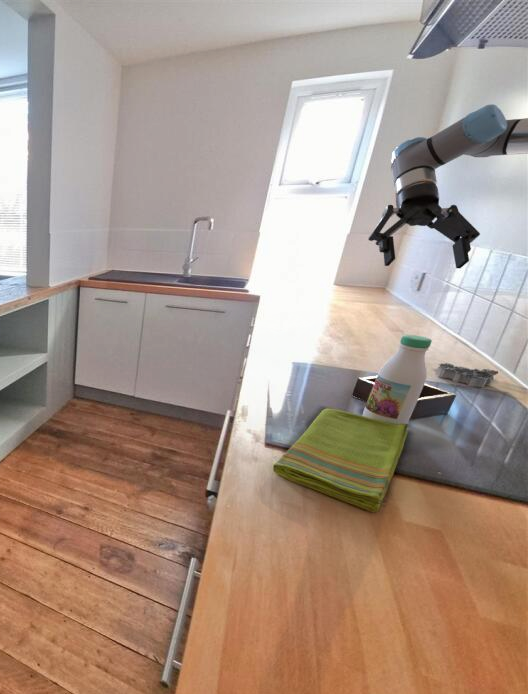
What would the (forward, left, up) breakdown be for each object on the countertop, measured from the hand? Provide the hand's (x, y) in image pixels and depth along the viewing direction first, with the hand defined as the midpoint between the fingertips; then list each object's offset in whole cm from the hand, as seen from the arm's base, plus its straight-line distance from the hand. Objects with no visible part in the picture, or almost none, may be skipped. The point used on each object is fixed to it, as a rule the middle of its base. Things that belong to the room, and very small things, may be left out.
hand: (425, 263), depth 95 cm
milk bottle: (-13, +16, -33) cm, 39 cm away
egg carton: (0, -31, -33) cm, 45 cm away
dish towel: (-21, +37, -33) cm, 54 cm away
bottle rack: (-7, +3, -33) cm, 34 cm away
